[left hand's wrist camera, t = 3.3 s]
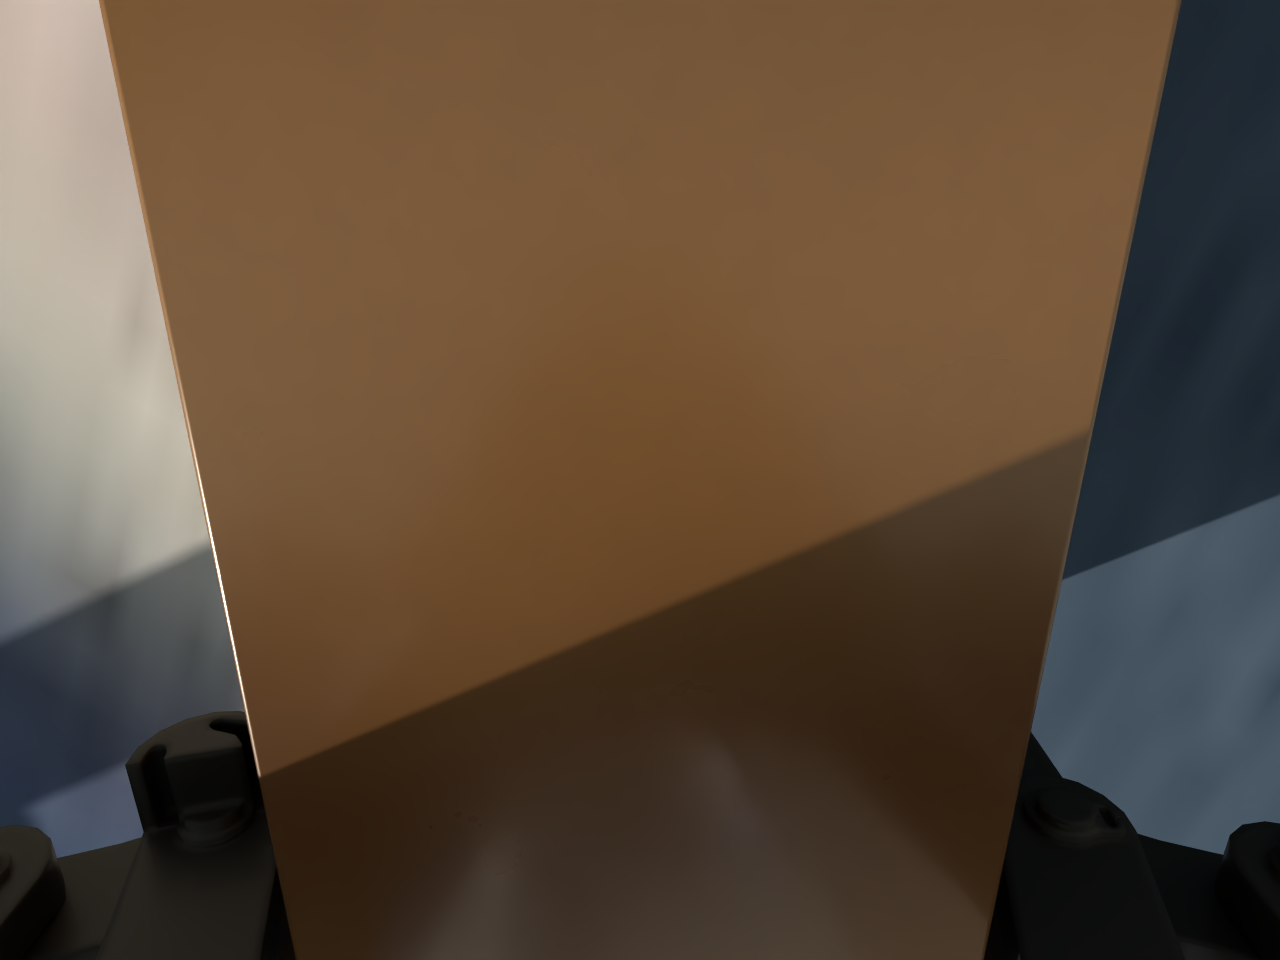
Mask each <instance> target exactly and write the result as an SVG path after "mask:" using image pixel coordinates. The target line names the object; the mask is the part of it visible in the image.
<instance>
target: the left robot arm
mask: <svg viewBox="0 0 1280 960" xmlns="http://www.w3.org/2000/svg"><path fill="white" fill-rule="evenodd" d="M125 766H126V770H127V773H128V777H129V781H130V784H131V788H132V791H133V795H134V799H135V802H136V806H137V809H138V813H139V817H140V820H141V824H142V828H143V831H144V833H143V836H142V837H141V838H138V839H134V840H131V841H128V842H124V843H121V844H117V845H113V846H108V847H104V848H100V849H95V850H91V851H87V852H82V853H78V854H74V855H70V856H65V857H61V858H57V857H56V854H55V851H54V848H53V845H52V842H51V839H50V838H49V837H48V836H47V835H45V834H44V833H43V832H42V831H41V830H39V829H38V828H33V827H26V826H19V825H12V826H5V827H0V960H296V958H295V953H294V948H293V944H292V939H291V934H290V929H289V924H288V919H287V914H286V909H285V905H284V900H283V895H282V890H281V885H280V880H279V875H278V870H277V866H276V861H275V856H274V851H273V846H272V841H271V836H270V831H269V827H268V822H267V817H266V812H265V807H264V802H263V797H262V792H261V788H260V783H259V778H258V773H257V768H256V763H255V758H254V753H253V749H252V744H251V739H250V734H249V729H248V724H247V719H246V714H245V712H242V711H230V712H213V713H209V714H205V715H201V716H197V717H193V718H189V719H186V720H184V721H181V722H179V723H177V724H175V725H173V726H170V727H168V728H166V729H164V730H162V731H160V732H158V733H157V734H156V735H154V736H153V737H152V738H150V739H149V740H148V741H146V742H145V743H143V744H142V745H141V746H139V747H138V748H137V750H136V751H135V752H134V754H133V755H132V756H131V758H130V759H129V760H128V762H127V763H126V764H125ZM984 960H1280V824H1279V823H1272V822H1266V821H1264V822H1257V823H1251V824H1244V825H1242V826H1240V827H1239V828H1238V829H1237V830H1236V831H1234V832H1233V833H1232V834H1231V835H1230V836H1229V839H1228V842H1227V846H1226V849H1225V852H1224V855H1221V854H1217V853H1212V852H1208V851H1204V850H1199V849H1195V848H1191V847H1186V846H1182V845H1178V844H1173V843H1169V842H1165V841H1160V840H1157V839H1153V838H1150V837H1147V836H1144V835H1140V834H1137V832H1136V830H1135V828H1134V827H1133V825H1132V824H1131V822H1130V821H1129V819H1128V818H1127V816H1126V815H1125V813H1124V812H1123V811H1122V810H1121V809H1119V808H1118V807H1117V806H1116V805H1115V804H1113V803H1112V802H1111V801H1110V800H1109V799H1107V798H1106V797H1105V796H1104V795H1102V794H1100V793H1098V792H1096V791H1094V790H1092V789H1090V788H1088V787H1086V786H1084V785H1083V784H1081V783H1079V782H1075V781H1072V780H1068V779H1065V778H1062V776H1061V775H1060V774H1059V772H1058V771H1057V769H1056V768H1055V766H1054V765H1053V763H1052V762H1051V760H1050V759H1049V757H1048V756H1047V755H1046V753H1045V752H1044V750H1043V749H1042V747H1041V746H1040V744H1039V743H1038V741H1037V740H1036V738H1035V737H1034V736H1033V734H1032V733H1031V732H1030V737H1029V742H1028V747H1027V752H1026V757H1025V761H1024V766H1023V771H1022V776H1021V781H1020V786H1019V790H1018V795H1017V800H1016V805H1015V810H1014V815H1013V819H1012V824H1011V829H1010V834H1009V839H1008V844H1007V849H1006V853H1005V858H1004V863H1003V868H1002V873H1001V878H1000V882H999V887H998V892H997V897H996V902H995V907H994V911H993V916H992V921H991V926H990V931H989V936H988V940H987V945H986V950H985V955H984Z"/></svg>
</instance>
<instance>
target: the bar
mask: <svg viewBox="0 0 1280 960" xmlns="http://www.w3.org/2000/svg"><path fill="white" fill-rule="evenodd" d="M1181 2H1182V0H99V3H100V8H101V13H102V18H103V22H104V27H105V32H106V37H107V42H108V47H109V52H110V57H111V61H112V66H113V71H114V76H115V81H116V86H117V91H118V96H119V100H120V105H121V110H122V115H123V120H124V125H125V130H126V134H127V139H128V144H129V149H130V154H131V159H132V164H133V169H134V173H135V178H136V183H137V188H138V193H139V198H140V203H141V208H142V212H143V217H144V222H145V227H146V232H147V237H148V242H149V247H150V251H151V256H152V261H153V266H154V271H155V276H156V281H157V286H158V290H159V295H160V300H161V305H162V310H163V315H164V320H165V325H166V329H167V334H168V339H169V344H170V349H171V354H172V359H173V364H174V368H175V373H176V378H177V383H178V388H179V393H180V398H181V403H182V407H183V412H184V417H185V422H186V427H187V432H188V437H189V442H190V446H191V451H192V456H193V461H194V466H195V471H196V476H197V481H198V485H199V490H200V495H201V500H202V505H203V510H204V515H205V520H206V524H207V529H208V534H209V539H210V544H211V549H212V554H213V558H214V563H215V568H216V573H217V578H218V583H219V588H220V593H221V597H222V602H223V607H224V612H225V617H226V622H227V627H228V632H229V636H230V641H231V646H232V651H233V656H234V661H235V666H236V671H237V675H238V680H239V685H240V690H241V695H242V700H243V705H244V710H245V714H246V719H247V724H248V729H249V734H250V739H251V744H252V749H253V753H254V758H255V763H256V768H257V773H258V778H259V783H260V788H261V792H262V797H263V802H264V807H265V812H266V817H267V822H268V827H269V831H270V836H271V841H272V846H273V851H274V856H275V861H276V866H277V870H278V875H279V880H280V885H281V890H282V895H283V900H284V905H285V909H286V914H287V919H288V924H289V929H290V934H291V939H292V944H293V948H294V953H295V958H296V960H984V955H985V950H986V945H987V940H988V936H989V931H990V926H991V921H992V916H993V911H994V907H995V902H996V897H997V892H998V887H999V882H1000V878H1001V873H1002V868H1003V863H1004V858H1005V853H1006V849H1007V844H1008V839H1009V834H1010V829H1011V824H1012V819H1013V815H1014V810H1015V805H1016V800H1017V795H1018V790H1019V786H1020V781H1021V776H1022V771H1023V766H1024V761H1025V757H1026V752H1027V747H1028V742H1029V737H1030V732H1031V728H1032V723H1033V718H1034V713H1035V708H1036V703H1037V699H1038V694H1039V689H1040V684H1041V679H1042V674H1043V670H1044V665H1045V660H1046V655H1047V650H1048V645H1049V640H1050V636H1051V631H1052V626H1053V621H1054V616H1055V611H1056V607H1057V602H1058V597H1059V592H1060V587H1061V582H1062V578H1063V573H1064V568H1065V563H1066V558H1067V553H1068V549H1069V544H1070V539H1071V534H1072V529H1073V524H1074V520H1075V515H1076V510H1077V505H1078V500H1079V495H1080V491H1081V486H1082V481H1083V476H1084V471H1085V466H1086V461H1087V457H1088V452H1089V447H1090V442H1091V437H1092V432H1093V428H1094V423H1095V418H1096V413H1097V408H1098V403H1099V399H1100V394H1101V389H1102V384H1103V379H1104V374H1105V370H1106V365H1107V360H1108V355H1109V350H1110V345H1111V341H1112V336H1113V331H1114V326H1115V321H1116V316H1117V311H1118V307H1119V302H1120V297H1121V292H1122V287H1123V282H1124V278H1125V273H1126V268H1127V263H1128V258H1129V253H1130V249H1131V244H1132V239H1133V234H1134V229H1135V224H1136V220H1137V215H1138V210H1139V205H1140V200H1141V195H1142V191H1143V186H1144V181H1145V176H1146V171H1147V166H1148V162H1149V157H1150V152H1151V147H1152V142H1153V137H1154V132H1155V128H1156V123H1157V118H1158V113H1159V108H1160V103H1161V99H1162V94H1163V89H1164V84H1165V79H1166V74H1167V70H1168V65H1169V60H1170V55H1171V50H1172V45H1173V41H1174V36H1175V31H1176V26H1177V21H1178V16H1179V12H1180V7H1181Z"/></svg>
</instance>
